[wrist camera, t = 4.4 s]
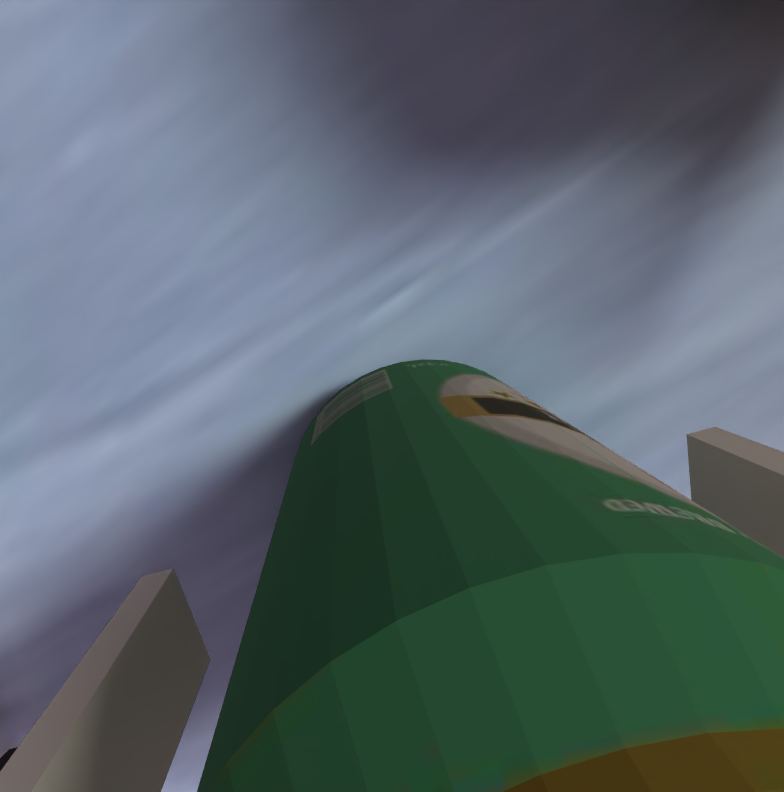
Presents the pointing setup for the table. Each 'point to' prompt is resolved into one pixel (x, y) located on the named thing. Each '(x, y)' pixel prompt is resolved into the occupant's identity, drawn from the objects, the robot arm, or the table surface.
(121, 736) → the robot arm
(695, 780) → the beverage can
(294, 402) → the table surface
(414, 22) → the table surface
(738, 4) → the table surface
